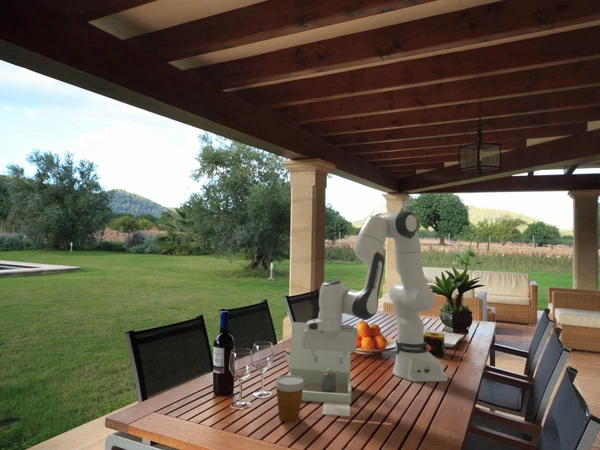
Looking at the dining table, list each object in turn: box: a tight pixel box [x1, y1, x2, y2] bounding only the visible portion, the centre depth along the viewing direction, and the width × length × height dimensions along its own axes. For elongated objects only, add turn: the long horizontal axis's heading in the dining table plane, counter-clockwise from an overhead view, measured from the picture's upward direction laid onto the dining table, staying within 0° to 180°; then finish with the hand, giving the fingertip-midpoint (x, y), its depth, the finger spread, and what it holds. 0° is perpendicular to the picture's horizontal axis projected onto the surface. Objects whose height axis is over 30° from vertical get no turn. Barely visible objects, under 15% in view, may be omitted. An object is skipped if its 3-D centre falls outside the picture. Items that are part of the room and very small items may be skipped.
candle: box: [423, 332, 445, 358], centre depth 204 cm, size 10×10×10 cm
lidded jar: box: [284, 346, 291, 366], centre depth 177 cm, size 11×11×9 cm
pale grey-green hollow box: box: [287, 321, 352, 405], centre depth 151 cm, size 24×25×23 cm
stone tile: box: [321, 402, 351, 417], centre depth 132 cm, size 9×9×1 cm
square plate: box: [423, 329, 465, 348], centre depth 230 cm, size 27×27×4 cm
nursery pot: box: [322, 368, 336, 393], centre depth 146 cm, size 5×5×9 cm
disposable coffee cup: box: [274, 374, 305, 423], centre depth 127 cm, size 10×10×12 cm
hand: (328, 362), depth 146 cm, fingers open, 8 cm apart
